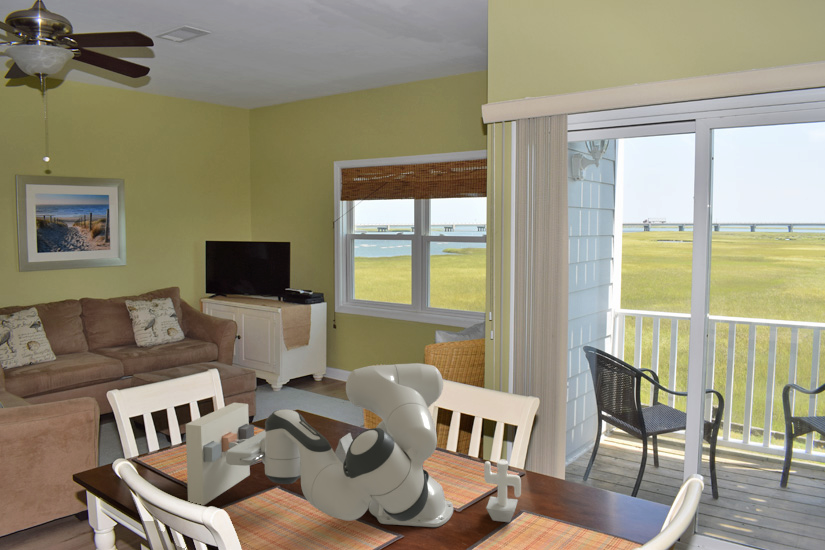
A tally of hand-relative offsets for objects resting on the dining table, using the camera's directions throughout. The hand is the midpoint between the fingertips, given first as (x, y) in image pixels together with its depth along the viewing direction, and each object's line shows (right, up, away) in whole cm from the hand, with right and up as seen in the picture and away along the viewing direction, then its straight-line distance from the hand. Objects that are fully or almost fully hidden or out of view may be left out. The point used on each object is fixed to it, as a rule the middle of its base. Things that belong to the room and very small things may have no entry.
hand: (231, 443), depth 176 cm
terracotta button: (-2, -2, +1) cm, 3 cm away
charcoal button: (+1, -1, +9) cm, 9 cm away
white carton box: (+30, -13, +19) cm, 38 cm away
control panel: (-4, -14, +3) cm, 15 cm away
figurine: (+75, -15, -15) cm, 78 cm away
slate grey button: (-4, -2, -6) cm, 8 cm away
